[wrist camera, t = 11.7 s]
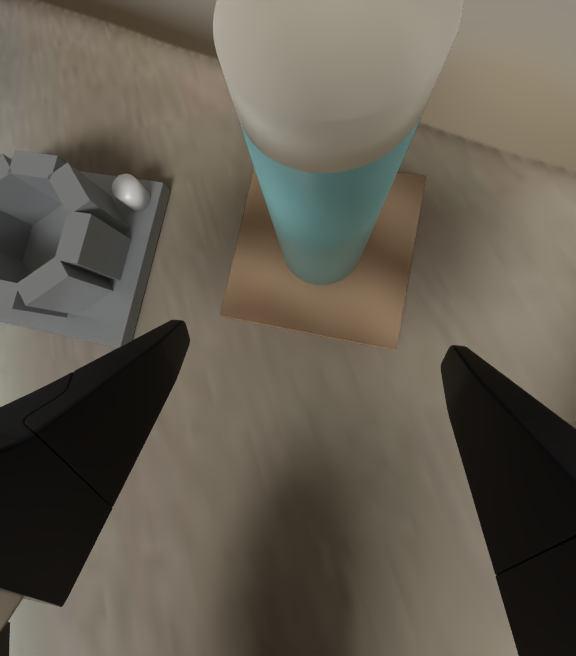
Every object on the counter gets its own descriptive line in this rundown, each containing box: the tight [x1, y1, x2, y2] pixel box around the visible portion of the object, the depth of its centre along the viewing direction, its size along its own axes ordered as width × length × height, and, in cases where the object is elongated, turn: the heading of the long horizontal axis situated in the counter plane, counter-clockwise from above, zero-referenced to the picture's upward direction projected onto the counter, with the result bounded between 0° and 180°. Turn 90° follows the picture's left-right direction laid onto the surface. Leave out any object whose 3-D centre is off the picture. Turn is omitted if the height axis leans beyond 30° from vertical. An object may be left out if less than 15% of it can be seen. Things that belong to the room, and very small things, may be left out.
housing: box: [0, 150, 170, 348], centre depth 19 cm, size 12×12×4 cm
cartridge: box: [213, 0, 464, 285], centre depth 12 cm, size 5×5×12 cm
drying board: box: [220, 168, 426, 350], centre depth 18 cm, size 11×11×2 cm
